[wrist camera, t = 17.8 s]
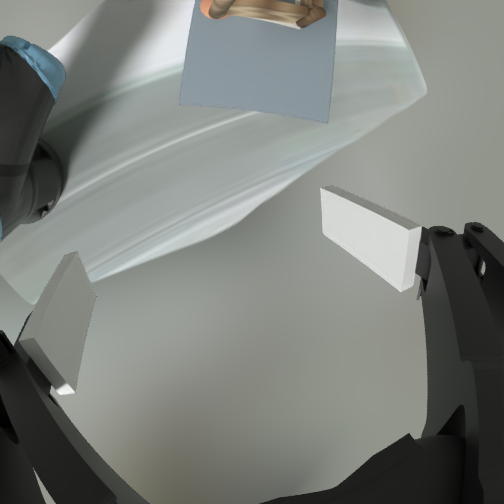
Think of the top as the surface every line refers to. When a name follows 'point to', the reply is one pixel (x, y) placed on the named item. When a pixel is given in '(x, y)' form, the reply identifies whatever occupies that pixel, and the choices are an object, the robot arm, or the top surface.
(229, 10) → the folding fence panel
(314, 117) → the card
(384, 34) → the top surface
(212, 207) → the top surface
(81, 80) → the top surface
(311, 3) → the fence fixed
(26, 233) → the top surface
